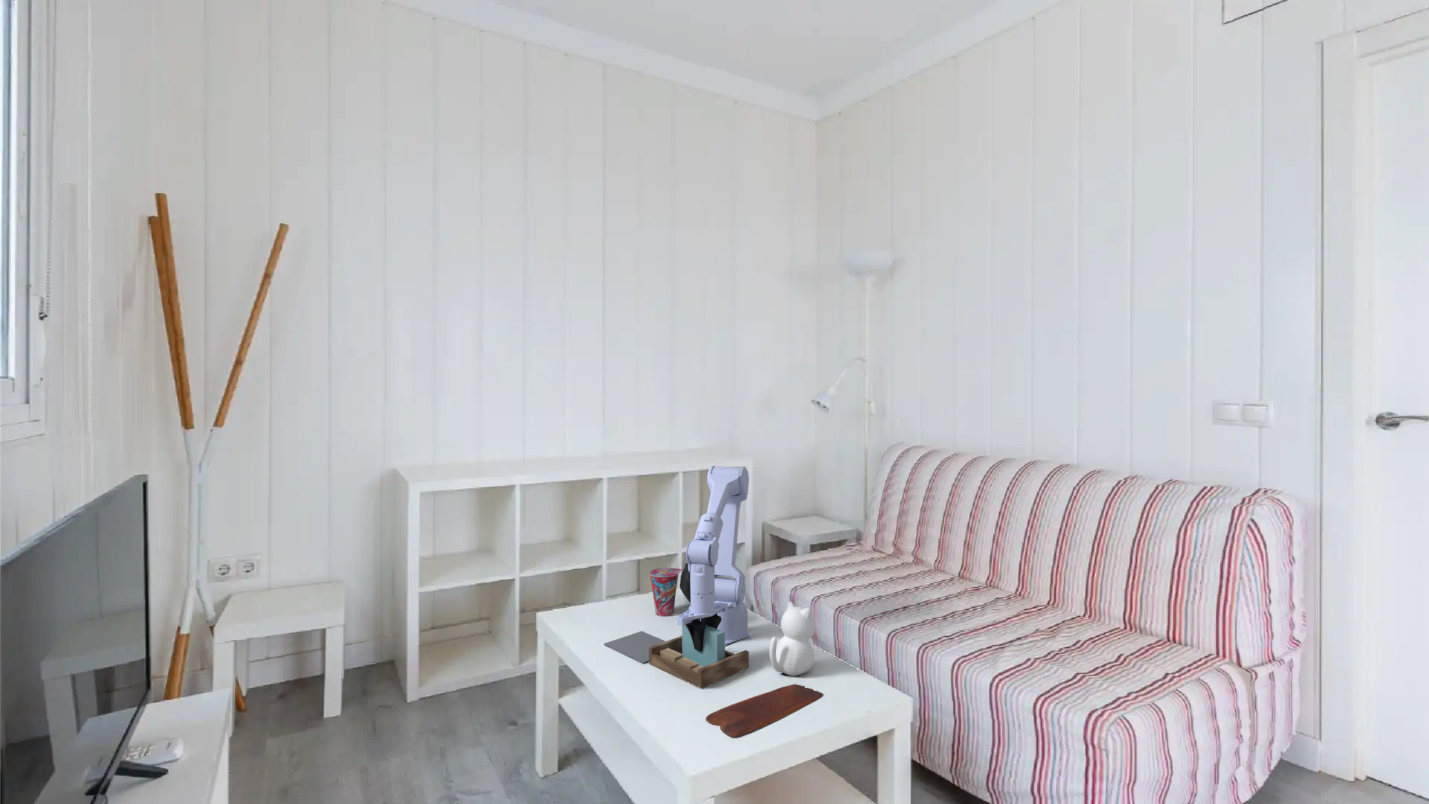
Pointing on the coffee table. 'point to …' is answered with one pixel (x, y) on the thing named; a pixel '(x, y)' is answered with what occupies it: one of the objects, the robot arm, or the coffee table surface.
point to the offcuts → (680, 659)
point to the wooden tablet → (762, 709)
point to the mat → (635, 645)
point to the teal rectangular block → (704, 646)
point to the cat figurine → (794, 642)
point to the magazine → (685, 583)
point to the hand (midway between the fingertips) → (703, 648)
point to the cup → (664, 589)
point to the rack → (705, 674)
